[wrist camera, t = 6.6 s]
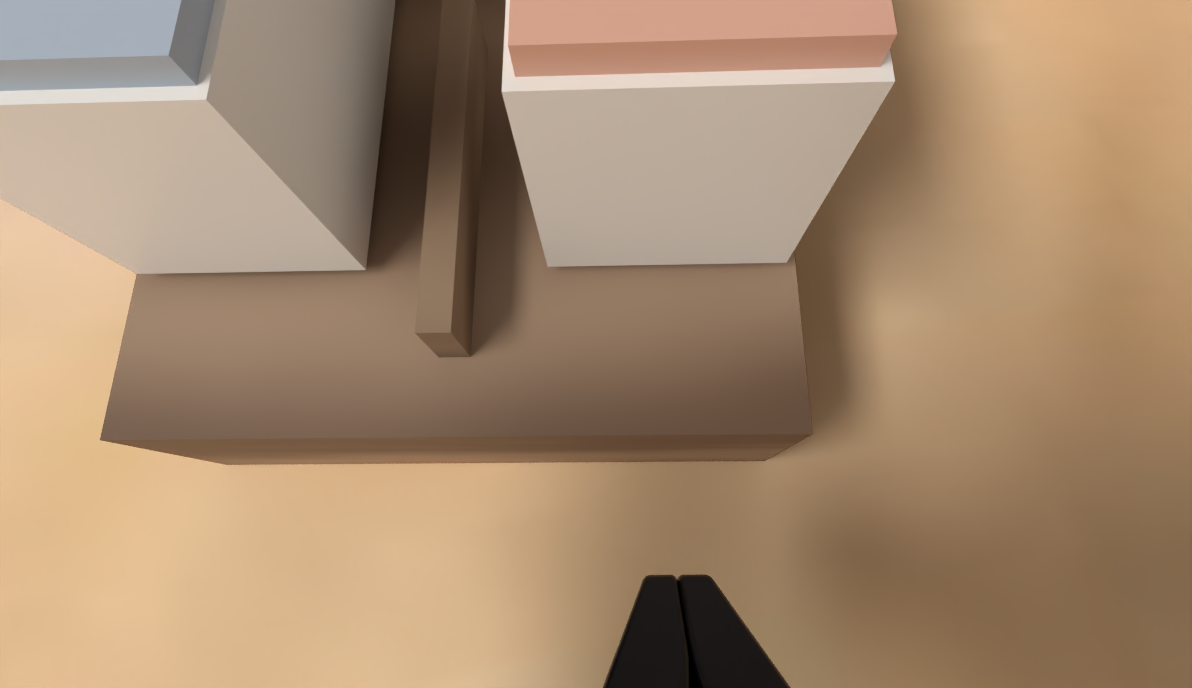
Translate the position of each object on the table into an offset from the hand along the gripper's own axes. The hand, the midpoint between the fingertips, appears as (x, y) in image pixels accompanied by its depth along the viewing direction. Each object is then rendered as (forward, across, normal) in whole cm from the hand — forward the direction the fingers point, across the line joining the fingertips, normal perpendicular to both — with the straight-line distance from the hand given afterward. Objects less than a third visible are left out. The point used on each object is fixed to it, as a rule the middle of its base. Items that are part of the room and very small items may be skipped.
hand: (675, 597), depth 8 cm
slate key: (+8, +8, -5) cm, 12 cm away
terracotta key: (+8, 0, -5) cm, 9 cm away
